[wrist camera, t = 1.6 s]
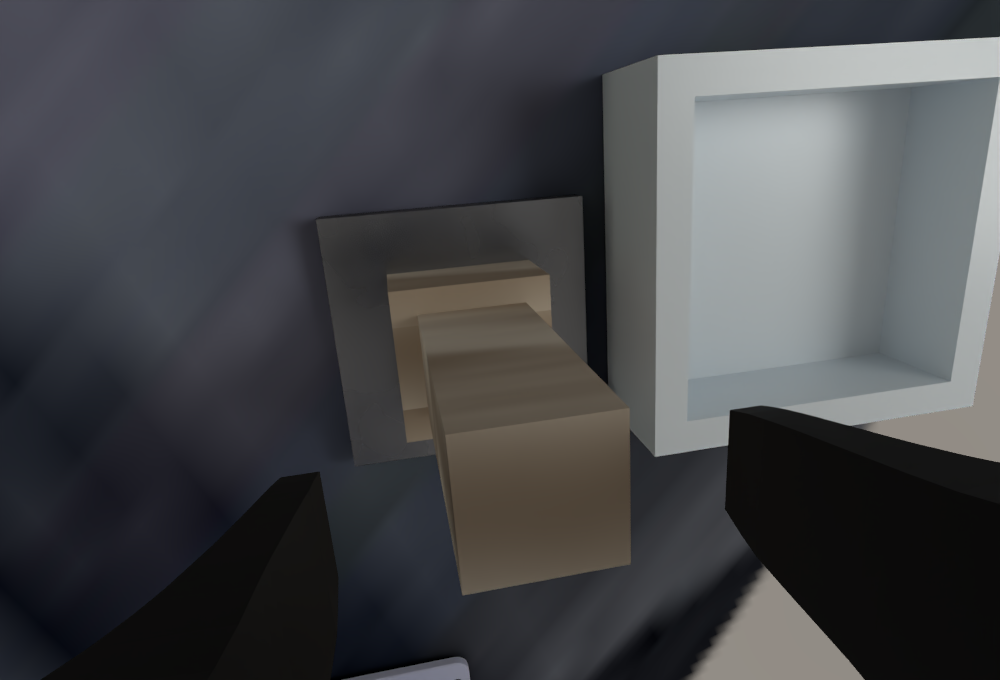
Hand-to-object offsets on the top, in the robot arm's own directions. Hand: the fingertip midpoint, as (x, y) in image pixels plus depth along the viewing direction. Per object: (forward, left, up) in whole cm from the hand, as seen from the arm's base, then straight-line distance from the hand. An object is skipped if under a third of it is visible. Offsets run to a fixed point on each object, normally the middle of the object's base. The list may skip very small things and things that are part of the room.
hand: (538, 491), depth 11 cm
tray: (+2, -10, -10) cm, 15 cm away
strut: (0, 0, -10) cm, 10 cm away
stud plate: (0, 0, -10) cm, 10 cm away
